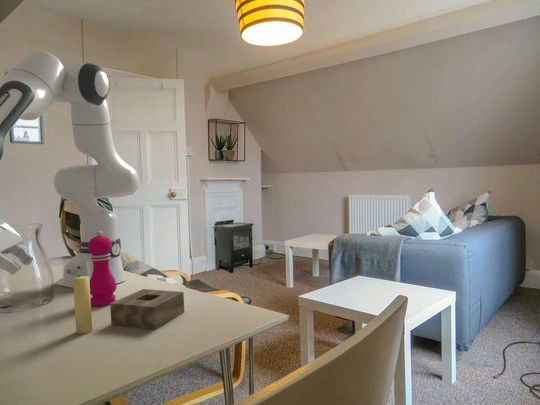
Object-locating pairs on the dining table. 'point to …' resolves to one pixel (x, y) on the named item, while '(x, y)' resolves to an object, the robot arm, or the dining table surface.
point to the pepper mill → (101, 271)
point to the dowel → (82, 304)
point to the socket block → (147, 308)
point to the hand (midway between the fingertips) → (24, 266)
